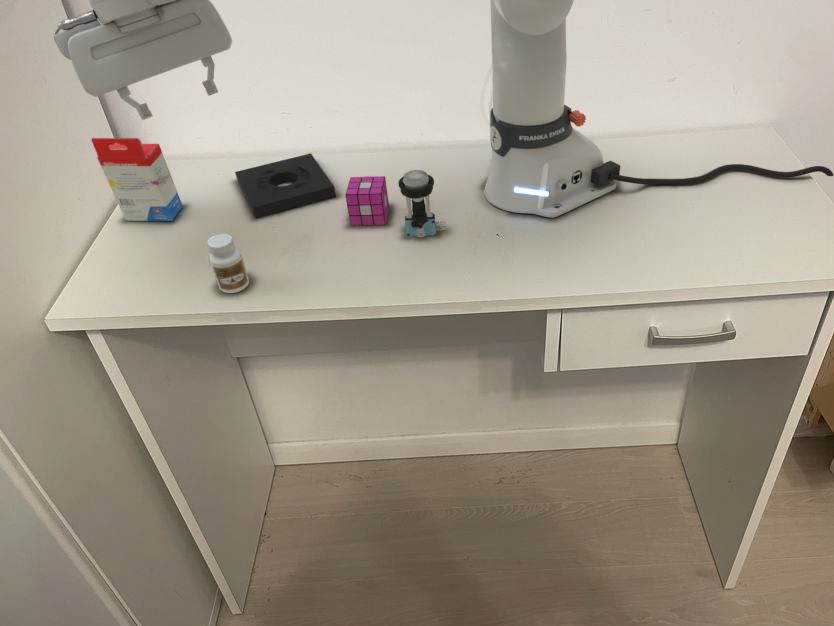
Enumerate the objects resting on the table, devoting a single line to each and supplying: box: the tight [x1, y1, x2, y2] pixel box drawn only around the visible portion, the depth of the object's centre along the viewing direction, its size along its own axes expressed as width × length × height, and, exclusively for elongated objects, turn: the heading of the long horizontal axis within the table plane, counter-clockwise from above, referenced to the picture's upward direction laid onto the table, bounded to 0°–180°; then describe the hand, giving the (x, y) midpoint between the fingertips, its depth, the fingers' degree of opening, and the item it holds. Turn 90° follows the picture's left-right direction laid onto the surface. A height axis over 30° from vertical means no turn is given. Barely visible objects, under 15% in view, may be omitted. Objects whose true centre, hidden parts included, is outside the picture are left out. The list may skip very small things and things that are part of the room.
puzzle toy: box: [344, 175, 390, 227], centre depth 111 cm, size 6×6×6 cm
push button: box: [397, 169, 447, 238], centre depth 105 cm, size 7×5×10 cm
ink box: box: [90, 137, 183, 222], centre depth 111 cm, size 8×5×15 cm, turn 84°
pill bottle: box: [206, 233, 250, 294], centre depth 98 cm, size 4×4×8 cm
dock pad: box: [234, 153, 337, 219], centre depth 120 cm, size 14×14×2 cm
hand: (180, 105), depth 95 cm, fingers open, 8 cm apart
